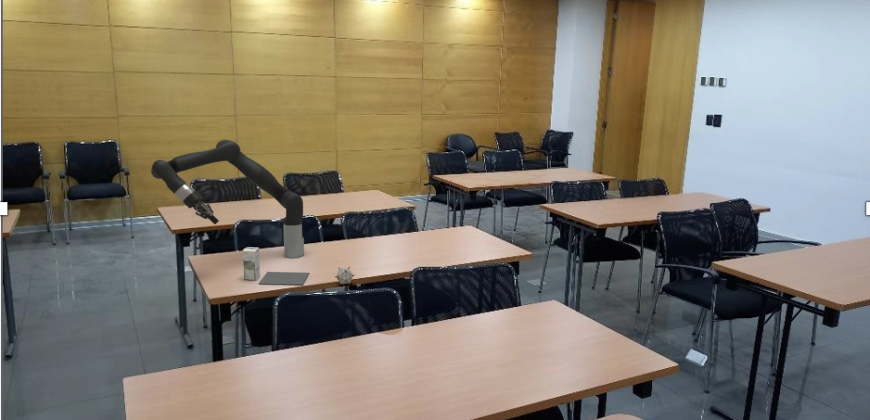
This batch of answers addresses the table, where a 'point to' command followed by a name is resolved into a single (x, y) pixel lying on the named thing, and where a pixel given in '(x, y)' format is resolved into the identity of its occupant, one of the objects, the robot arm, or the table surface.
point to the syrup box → (251, 263)
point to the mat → (284, 278)
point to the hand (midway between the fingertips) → (217, 222)
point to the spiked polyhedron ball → (344, 276)
